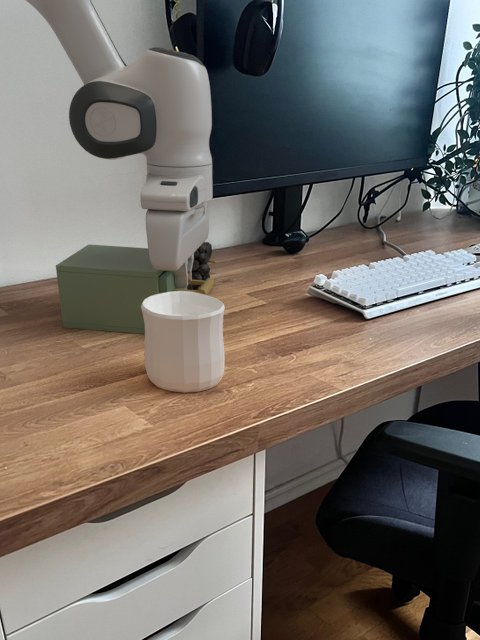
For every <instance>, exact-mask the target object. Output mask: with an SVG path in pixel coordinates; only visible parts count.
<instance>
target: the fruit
mask: <svg viewBox="0 0 480 640" xmlns="http://www.w3.org/2000/svg"><path fill="white" fill-rule="evenodd" d="M212 253H213V246H212V244H211V243H210V242H209V241H204V243H203V244H202V245H201V246H200V247H199V248H198V249H197V250H196V251H195V252H194V260H193V266H192V280H204V281H205V280H206V279H207V278H211V274H210V271H211V268H210V266H209V264H210V263H211V264H216V261H215V260H210V259H211V257H212V255H213V254H212ZM201 286H202V285H191V284H188V286H187V290H194V289H195V288H196V289H199V288H200V287H201Z"/></svg>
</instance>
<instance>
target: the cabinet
mask: <svg viewBox="0 0 480 640" xmlns="http://www.w3.org/2000/svg"><path fill="white" fill-rule="evenodd" d="M164 271H165V270H155V269H154V268H153V266H152V264H151V262H150V258H149V251H148V247H133V246H119V245H118V246H117V245H104V244H89V243H88V244H87V245H85V246H84V247H82V248H80V249H79V250H77V251H76V252H74V253H73V254H71V255H70V256H68V257H67V258H65V259H63V260H62V261H61V262H59V263H57V264H56V265H55V272H56V279H57V289H58V296H59V305H60V315H61V321H62V328H64V329H77V330H90V331H100V332H102V331H104V332H114V333H127V334H138V335H145V323H144V318H143V313H142V309H141V305H142V303H143V301H144V300H145V299H146V298H148V297H150V296H153V295H156V294H159V276H160V275H161V274H162V273H163V272H164Z"/></svg>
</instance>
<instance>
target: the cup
mask: <svg viewBox="0 0 480 640" xmlns="http://www.w3.org/2000/svg"><path fill="white" fill-rule="evenodd" d="M141 309H142V313H143V318H144V323H145V334H144V349H143V350H144V353H143V354H144V367H145V368H144V369H145V372H146V375H147V377H148V379H149V381H150V382H151V383H152V384H153V385H154V386H156V387H157V388H159V389H161V390H165V391H169V392H175V393H183V394H185V393H186V394H187V393H198V392H202V391H207V390H210V389H212V388H215V387H217V386H218V385H219V383H221V380H222V379H223V377H224V374H225V371H226V370H225V367H226V366H225V364H226V363H225V362H226V361H225V357H226V356H225V353H226V352H225V345H224V344H225V342H224V333H223V332H224V314H225V309H226V307H225V304H224V303H223V301H221V299H218V298H216V297H214V296H211V295H209V294H207V295H204V294H201V293H196V292H191V291H172V292H166V293H161V294H156V295H153V296H150V297H148V298H146V299H145V300H144V301H143V303H142V305H141Z"/></svg>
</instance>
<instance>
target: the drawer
mask: <svg viewBox="0 0 480 640" xmlns="http://www.w3.org/2000/svg"><path fill="white" fill-rule="evenodd" d="M189 284H191V285H202V286H200V287H198V288H197V289H192V290H187V287H186V288H177V287H176V286H175V275H174V271H164V272H163V273H162V274H161V276H160V277H159V294H161V293H166V292H172V291H191V292H196V293H201V294H204V295H209V292H211V290H212V289H213V288H214V286H215V280H214V278H212V277H210V278H207V279H206V280H205V281H204V280H192V281H191V282H190V283H189Z"/></svg>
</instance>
